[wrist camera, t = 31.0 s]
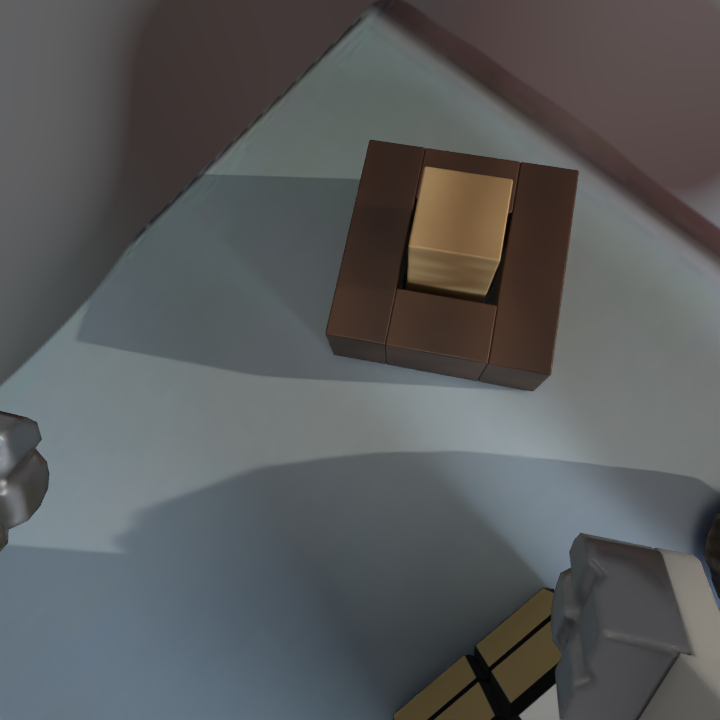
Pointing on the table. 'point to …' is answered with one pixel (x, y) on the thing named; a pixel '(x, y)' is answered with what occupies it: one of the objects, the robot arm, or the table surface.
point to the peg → (457, 233)
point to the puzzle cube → (499, 674)
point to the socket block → (444, 314)
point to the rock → (714, 552)
